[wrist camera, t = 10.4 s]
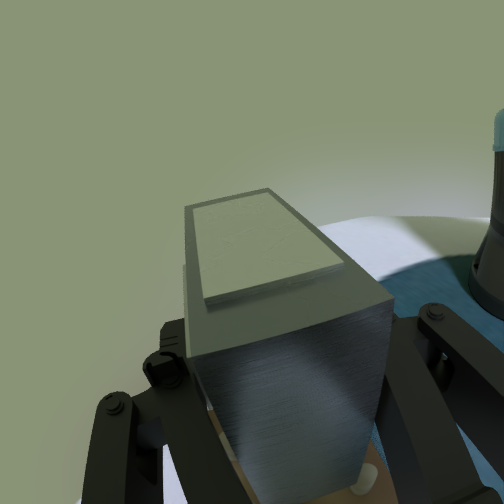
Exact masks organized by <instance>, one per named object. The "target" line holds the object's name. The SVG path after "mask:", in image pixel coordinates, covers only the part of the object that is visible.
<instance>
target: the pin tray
mask: <svg viewBox="0 0 504 504" xmlns="http://www.w3.org/2000/svg"><path fill="white" fill-rule="evenodd" d="M208 414H209V416H210V418H211V420H212V422H213V425H214V427H215V429H216V431H217V434H218V436H219V438H220V440H221V442H222V444H223V446H224V448H225V451H226V453H227V455H228V457H229V459H230V461H231V463H232V465H233V467H234V469H235V471H236V473H237V475H238V477H239V479H240V481H241V483H242V485H243V486H244V488H245V490H246V492H247V494H248V496H249V498H250V500H251V501H252V503H253V504H261V503H260V501H259V500H258V498H257V496H256V494H255V492H254V490H253V489H252V487H251V485H250V483H249V481H248V479H247V477H246V476H245V474H244V472H243V470H242V468H241V466H240V464H239V462H238V460H237V458H236V456H235V454H234V452H233V450H232V448H231V446H230V444H229V442H228V440H227V438H226V436H225V433H224V431H223V429H222V427H221V425H220V423H219V421H218V418H217V416H216V414H215V412H214V410H209V411H208ZM300 504H399V503H398V500H397V496H396V492H395V488H394V485H393V481H392V477H391V475H390V473H389V471H388V470H387V468H386V466H385V464H384V463H383V461H382V459H381V457H380V455H379V454H378V452H377V450H376V448H375V447H374V445H373V443H372V441H371V439H370V440H369V444H368V448H367V451H366V455H365V459H364V462H363V465H362V469H361V472H360V475H359V478H358V481H357V484H355V485H352V486H350V487H347V488H344V489H342V490H339V491H336V492H334V493H331V494H328V495H325V496H322V497H319V498H316V499H313V500H310V501H307V502H304V503H300Z"/></svg>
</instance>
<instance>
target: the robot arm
mask: <svg viewBox="0 0 504 504" xmlns="http://www.w3.org/2000/svg"><path fill="white" fill-rule="evenodd" d="M494 124H495V125H494V126H495V128H494V145H493V151H495V164H494V165H495V166H494V185H493V197H492V208H491V218H490V225H489V229H488V231H487V233H486V235H485V237H484V239H483V241H482V244H481V246H480V248H479V250H478V252H477V254H476V256H475V258H474V260H473V262H472V265H471V270H470V275H469V288H470V291H471V293H472V295H473V296H474V298H475V299H476V300H477V302H478V303H479V304H480V305H481V306H482V307H483V308H485V309H486V310H487V311H489V312H490V313H491V314H493V315H495V316H497V317H498V318H500V319H503V320H504V109H502V110H500V111H499V112H498V113H497V115H496V117H495V122H494ZM183 288H184V290H183V291H184V318H182V319H178V320H173V321H169V322H166V323H165V324H164V326H163V327H162V329H161V331H160V348H159V350H158V351H156V352H154V353H152V354H151V355H150V356H149V357H147V358H146V360H145V361H144V363H143V371H144V373H145V375H146V377H147V379H148V381H149V382H150V384H151V386H152V387H150V388H149V389H148V390H146V391H144V392H142V393H140V394H138V395H136V396H133V397H130V395H129V394H127V393H125V392H118V391H117V392H113V393H110V394H108V395H106V396H105V397H103V399H102V400H101V401H100V402H99V404H98V406H97V410H96V414H95V419H94V424H93V429H92V435H91V440H90V446H89V451H88V457H87V464H86V470H85V477H84V484H83V493H82V500H81V504H164V499H163V446H164V445H166V444H168V447H169V450H170V454H171V457H172V460H173V463H174V466H175V469H176V472H177V475H178V478H179V481H180V484H181V486H182V489H183V492H184V495H185V497H186V500H187V503H188V504H253V503H252V501H251V500H250V498H249V496H248V494H247V492H246V490H245V488H244V486H243V485H242V483H241V481H240V479H239V477H238V475H237V473H236V471H235V469H234V467H233V465H232V463H231V461H230V459H229V457H228V455H227V453H226V451H225V448H224V446H223V444H222V442H221V440H220V438H219V436H218V434H217V431H216V429H215V427H214V425H213V422H212V420H211V418H210V416H209V414H208V411H207V406H208V408H209V410H211V409H213V407H212V405H211V403H210V401H209V398H208V396H207V394H206V392H205V389H204V387H203V385H202V382H201V380H200V377H199V375H198V373H197V370H196V368H195V365H194V363H193V360H192V358H191V350H190V336H189V321H188V304H187V284H186V264H185V265H183ZM443 353H444V354H445V355H446V356H447V357H448V358H447V357H445V356H444V355H443ZM206 403H207V404H206ZM455 422H456V423H457V424H458V426H459V427H460V428H461V429H462V430H463V432H464V433H465V434H466V435H467V436H468V438H469V439H470V440H471V441H472V442H473V444H474V445H475V446H476V447H477V449H478V450H479V451H480V452H481V454H482V455H483V456H484V457H485V459H486V460H487V461H488V462H489V464H490V465H491V466H492V467H493V469H494V470H495V471H496V472H497V474H498V475H499V476H500V477H501V479H502V480H503V481H504V354H503V353H502V352H501V351H500V350H499V349H498V348H497V347H495V346H494V345H493V344H492V343H491V342H490V341H488V340H487V339H486V338H485V337H484V336H483V335H481V334H480V333H479V332H478V331H477V330H475V329H474V328H473V327H472V326H471V325H469V324H468V323H467V322H466V321H465V320H463V319H462V318H461V317H460V316H458V315H457V314H456V313H455V312H453V311H452V310H451V309H450V308H448V307H447V306H445V305H443V304H440V303H428V304H425V305H423V306H422V307H421V308H420V310H419V314H418V316H414V317H406V318H399V317H398V316H397V315H396V314H395V313H393V317H392V326H391V333H390V341H389V347H388V354H387V360H386V366H385V372H384V378H383V383H382V388H381V393H380V398H379V403H378V407H377V412H376V416H375V423H376V426H377V430H378V433H379V436H380V439H381V443H382V446H383V449H384V453H385V456H386V460H387V463H388V467H389V470H390V474H391V477H392V481H393V485H394V488H395V492H396V496H397V500H398V503H399V504H503V502H502V500H501V497H500V496H499V494H498V492H497V491H496V490H495V489H494V488H491V487H487V486H484V485H483V484H482V482H481V480H480V478H479V475H478V473H477V470H476V468H475V466H474V463H473V461H472V458H471V456H470V454H469V451H468V449H467V447H466V445H465V442H464V440H463V438H462V436H461V434H460V432H459V429H458V427H457V425H456V423H455Z"/></svg>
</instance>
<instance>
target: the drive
mask: <svg viewBox="0 0 504 504" xmlns="http://www.w3.org/2000/svg"><path fill="white" fill-rule="evenodd" d="M185 255H186V284H187V304H188V321H189V336H190V350H191V358H192V360H193V363H194V365H195V368H196V370H197V373H198V375H199V377H200V380H201V382H202V385H203V387H204V389H205V392H206V394H207V396H208V398H209V401H210V403H211V405H212V407H213V410H214V412H215V414H216V416H217V418H218V421H219V423H220V425H221V427H222V429H223V431H224V433H225V436H226V438H227V440H228V442H229V444H230V446H231V448H232V450H233V452H234V454H235V456H236V458H237V460H238V462H239V464H240V466H241V468H242V470H243V472H244V474H245V476H246V477H247V479H248V481H249V483H250V485H251V487H252V489H253V490H254V492H255V494H256V496H257V498H258V500H259V501H260V503H261V504H300V503H304V502H307V501H310V500H313V499H316V498H319V497H322V496H325V495H328V494H331V493H334V492H336V491H339V490H342V489H344V488H347V487H350V486H352V485H355V484H357V481H358V478H359V475H360V472H361V469H362V465H363V462H364V459H365V455H366V451H367V448H368V444H369V440H370V437H371V433H372V429H373V425H374V420H375V416H376V412H377V407H378V403H379V398H380V393H381V388H382V383H383V378H384V372H385V366H386V360H387V354H388V347H389V341H390V333H391V326H392V317H393V308H394V297H393V296H392V295H391V294H390V293H389V292H388V291H387V290H386V289H385V288H384V287H383V286H381V285H380V284H379V283H378V282H377V281H376V280H375V279H374V278H373V277H372V276H371V275H370V274H368V273H367V272H366V271H365V270H364V269H363V268H362V267H361V266H360V265H358V264H357V263H356V262H355V261H354V260H353V259H352V258H351V257H350V256H348V255H347V254H346V253H345V252H344V251H343V250H342V249H340V248H339V247H338V246H337V245H336V244H335V243H334V242H332V241H331V240H330V239H329V238H328V237H327V236H326V235H324V234H323V233H322V232H321V231H320V230H319V229H317V228H316V227H315V226H314V225H313V224H311V223H310V222H309V221H308V220H307V219H306V218H304V217H303V216H302V215H301V214H300V213H298V212H297V211H296V210H295V209H294V208H292V207H291V206H290V205H289V204H288V203H286V202H285V201H284V200H283V199H282V198H280V197H279V196H278V195H277V194H275V193H274V192H273V191H272V190H270V189H269V188H265V189H260V190H255V191H251V192H246V193H241V194H237V195H232V196H228V197H223V198H219V199H214V200H210V201H206V202H202V203H198V204H193V205H189V206H185Z"/></svg>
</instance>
